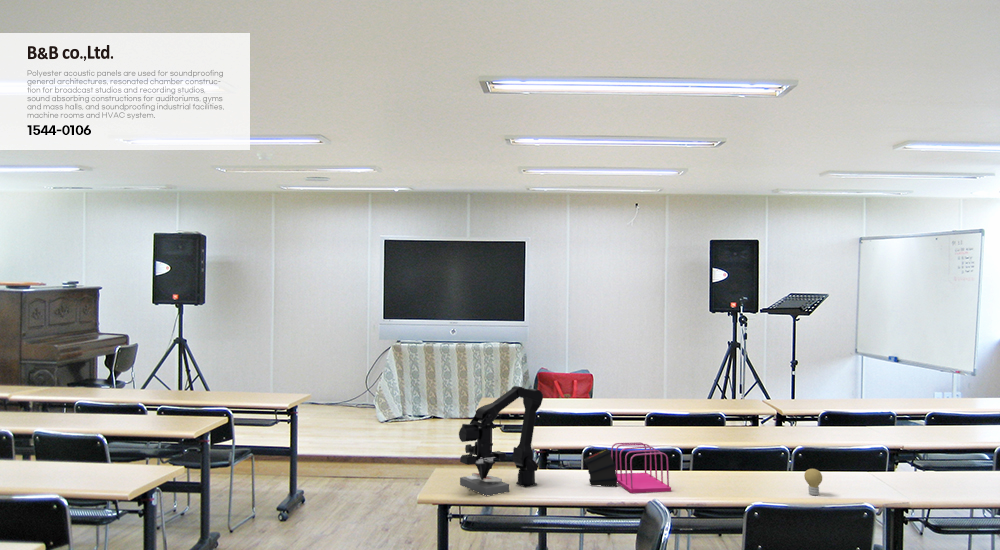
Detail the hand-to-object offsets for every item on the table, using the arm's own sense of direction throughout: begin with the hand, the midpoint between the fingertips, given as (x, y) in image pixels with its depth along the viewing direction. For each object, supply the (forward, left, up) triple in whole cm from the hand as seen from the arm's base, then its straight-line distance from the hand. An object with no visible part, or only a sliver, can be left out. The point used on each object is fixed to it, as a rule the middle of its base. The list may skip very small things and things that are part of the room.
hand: (483, 479), depth 248 cm
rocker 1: (-4, -6, 0) cm, 7 cm away
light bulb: (-108, +75, -5) cm, 131 cm away
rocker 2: (-4, 0, 0) cm, 4 cm away
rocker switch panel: (-4, -5, -5) cm, 8 cm away
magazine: (-47, +18, -5) cm, 50 cm away
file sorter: (-61, +26, -5) cm, 67 cm away
